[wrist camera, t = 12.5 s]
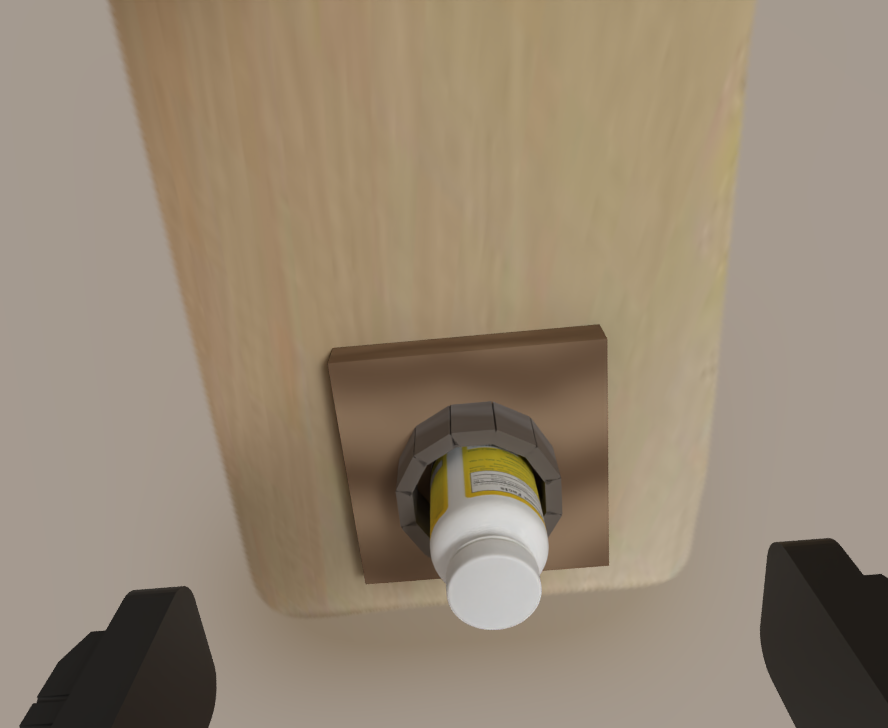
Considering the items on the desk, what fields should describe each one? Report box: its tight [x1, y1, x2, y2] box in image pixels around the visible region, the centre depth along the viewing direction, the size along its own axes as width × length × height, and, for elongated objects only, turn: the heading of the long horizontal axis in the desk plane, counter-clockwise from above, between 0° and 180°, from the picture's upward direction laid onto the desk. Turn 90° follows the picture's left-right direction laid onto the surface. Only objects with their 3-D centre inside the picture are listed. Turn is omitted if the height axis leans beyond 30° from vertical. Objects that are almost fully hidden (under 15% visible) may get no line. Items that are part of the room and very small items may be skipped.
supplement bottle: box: [430, 444, 549, 630], centre depth 35 cm, size 5×5×10 cm
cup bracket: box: [328, 325, 609, 584], centre depth 39 cm, size 14×14×5 cm
